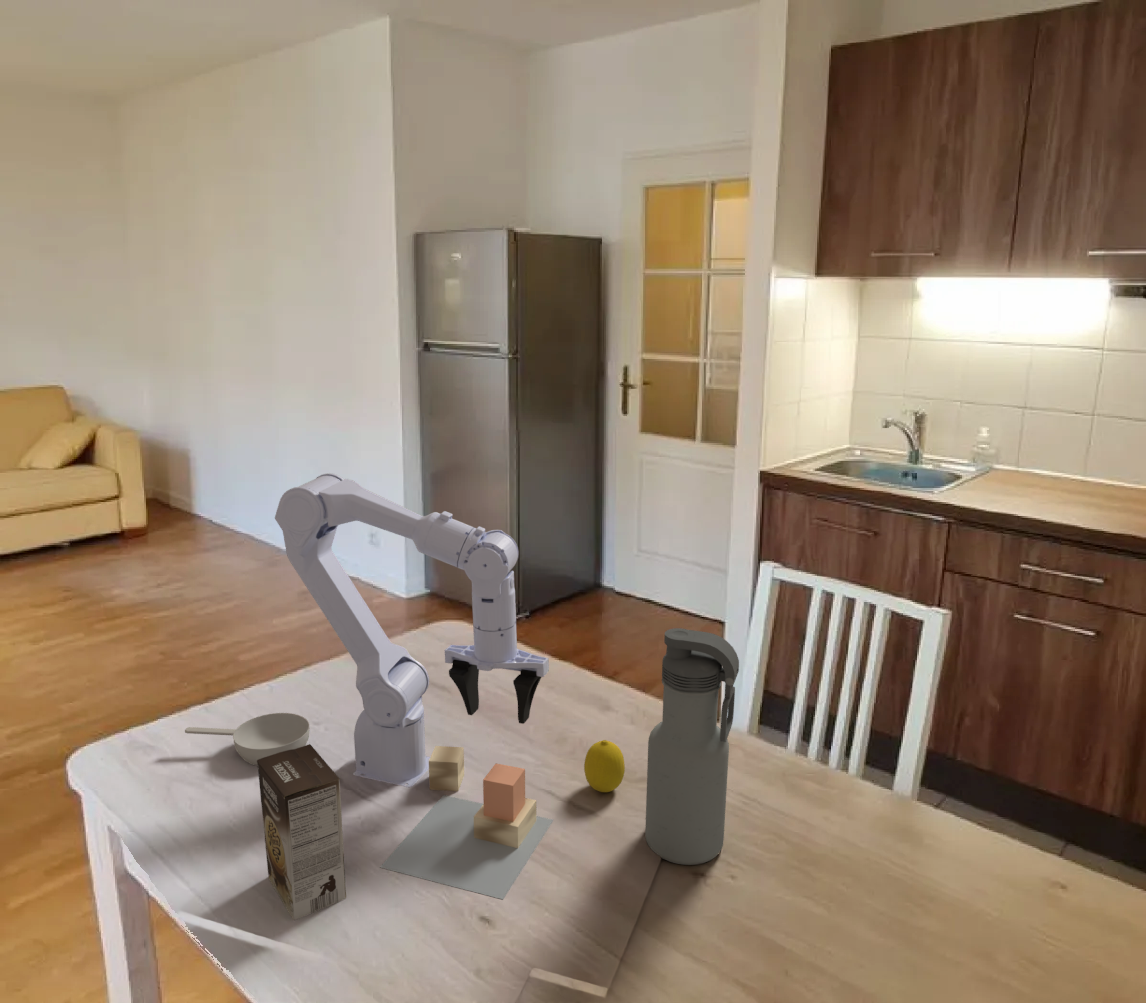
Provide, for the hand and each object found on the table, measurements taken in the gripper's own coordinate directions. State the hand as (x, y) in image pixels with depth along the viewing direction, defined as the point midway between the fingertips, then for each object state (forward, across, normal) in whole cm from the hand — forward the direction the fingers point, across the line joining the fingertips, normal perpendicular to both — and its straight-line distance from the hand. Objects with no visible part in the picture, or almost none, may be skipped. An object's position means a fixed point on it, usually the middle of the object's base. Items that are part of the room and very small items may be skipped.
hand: (498, 716), depth 120 cm
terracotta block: (+7, +5, -10) cm, 13 cm away
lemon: (+11, +14, +3) cm, 18 cm away
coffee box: (+10, -12, -28) cm, 32 cm away
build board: (+10, +2, -14) cm, 18 cm away
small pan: (+10, -39, -5) cm, 40 cm away
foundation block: (+10, +5, -10) cm, 15 cm away
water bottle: (+11, +27, -4) cm, 30 cm away
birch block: (+10, -7, -3) cm, 13 cm away
